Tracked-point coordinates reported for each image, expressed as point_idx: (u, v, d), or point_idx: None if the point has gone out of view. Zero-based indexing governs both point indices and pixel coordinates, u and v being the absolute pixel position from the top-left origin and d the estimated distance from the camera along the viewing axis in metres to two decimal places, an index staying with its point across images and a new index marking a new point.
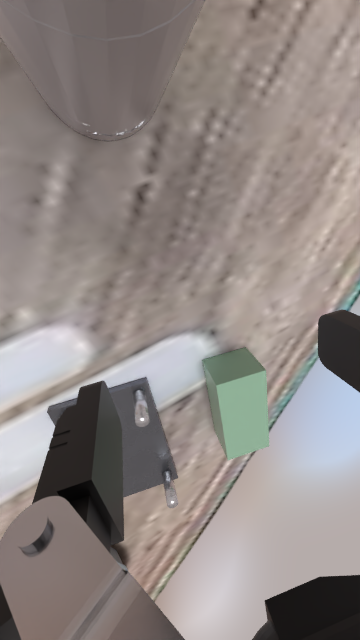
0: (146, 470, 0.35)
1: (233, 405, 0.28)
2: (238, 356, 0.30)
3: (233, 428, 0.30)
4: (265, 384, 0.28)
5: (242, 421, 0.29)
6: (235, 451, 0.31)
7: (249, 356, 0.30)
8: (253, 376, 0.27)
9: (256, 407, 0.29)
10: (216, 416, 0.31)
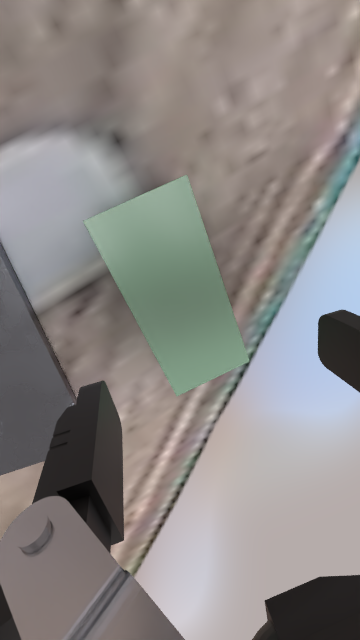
0: (31, 426, 0.21)
1: (142, 271, 0.14)
2: None
3: (163, 326, 0.15)
4: (197, 214, 0.13)
5: (176, 309, 0.15)
6: (185, 377, 0.17)
7: None
8: (162, 193, 0.13)
9: (197, 274, 0.15)
10: None
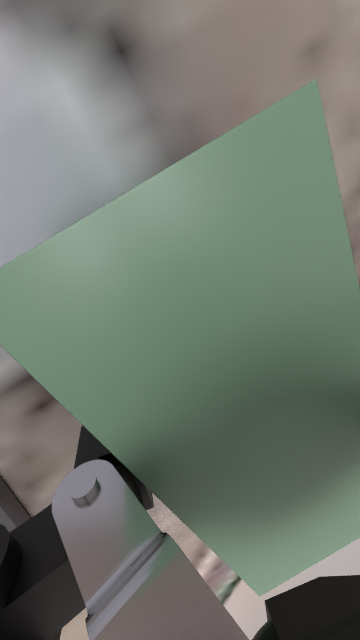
0: None
1: (175, 404, 0.05)
2: None
3: (232, 502, 0.06)
4: (338, 221, 0.04)
5: (265, 464, 0.06)
6: (278, 566, 0.08)
7: None
8: (229, 161, 0.03)
9: (319, 380, 0.05)
10: None
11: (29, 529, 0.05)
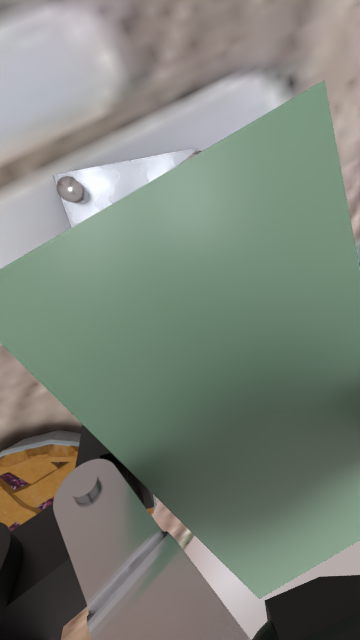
0: None
1: (177, 405, 0.05)
2: None
3: (233, 504, 0.06)
4: (343, 224, 0.04)
5: (266, 466, 0.06)
6: (278, 569, 0.08)
7: None
8: (236, 161, 0.03)
9: (322, 382, 0.05)
10: None
11: (30, 528, 0.05)
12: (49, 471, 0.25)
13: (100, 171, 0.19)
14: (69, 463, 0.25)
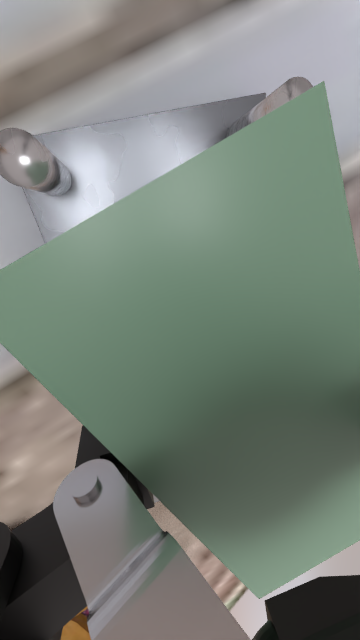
0: None
1: (177, 406, 0.05)
2: None
3: (233, 504, 0.06)
4: (343, 224, 0.04)
5: (266, 466, 0.06)
6: (278, 569, 0.08)
7: None
8: (235, 163, 0.03)
9: (322, 382, 0.05)
10: None
11: (30, 528, 0.05)
12: None
13: (91, 135, 0.11)
14: None
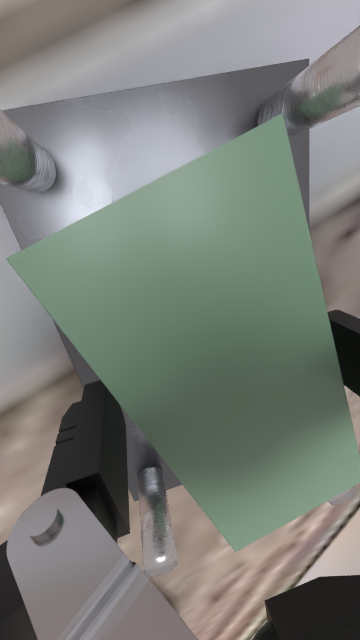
0: None
1: (168, 360, 0.06)
2: None
3: (213, 454, 0.07)
4: (300, 220, 0.05)
5: (241, 421, 0.07)
6: (252, 523, 0.09)
7: None
8: (217, 169, 0.05)
9: (287, 350, 0.07)
10: None
11: None
12: None
13: (82, 111, 0.08)
14: None
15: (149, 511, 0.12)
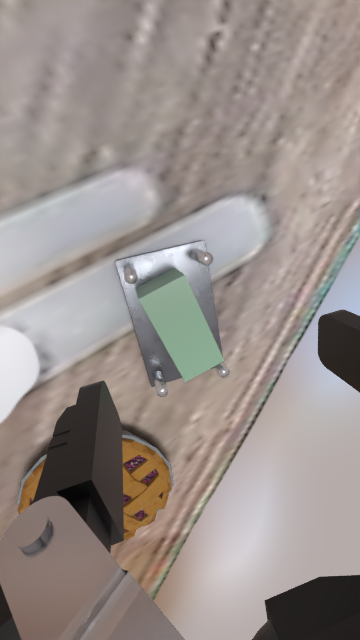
0: None
1: (165, 318, 0.29)
2: (166, 275, 0.30)
3: (176, 344, 0.30)
4: (191, 290, 0.28)
5: (183, 335, 0.30)
6: (189, 371, 0.31)
7: (175, 272, 0.30)
8: (174, 283, 0.27)
9: (192, 317, 0.29)
10: None
11: None
12: None
13: (143, 257, 0.31)
14: None
15: (158, 380, 0.34)
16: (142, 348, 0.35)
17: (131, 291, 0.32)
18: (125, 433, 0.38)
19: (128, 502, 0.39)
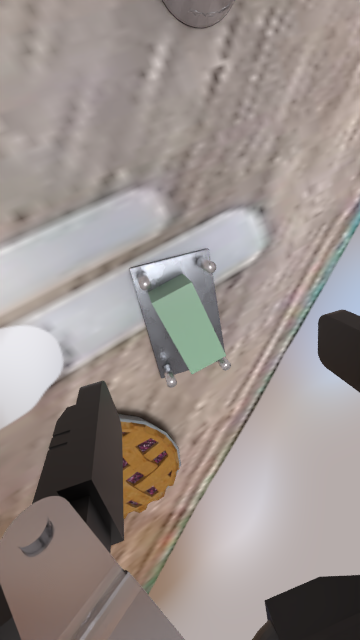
0: None
1: (174, 320, 0.33)
2: (175, 281, 0.35)
3: (184, 342, 0.34)
4: (197, 295, 0.32)
5: (190, 334, 0.34)
6: (195, 364, 0.36)
7: (183, 278, 0.34)
8: (182, 289, 0.32)
9: (198, 318, 0.33)
10: None
11: None
12: None
13: (154, 265, 0.35)
14: (130, 433, 0.40)
15: (167, 372, 0.39)
16: (153, 344, 0.39)
17: (144, 295, 0.36)
18: (138, 419, 0.43)
19: (141, 480, 0.44)
